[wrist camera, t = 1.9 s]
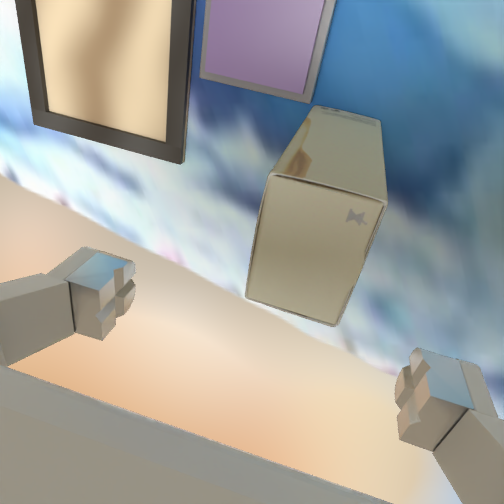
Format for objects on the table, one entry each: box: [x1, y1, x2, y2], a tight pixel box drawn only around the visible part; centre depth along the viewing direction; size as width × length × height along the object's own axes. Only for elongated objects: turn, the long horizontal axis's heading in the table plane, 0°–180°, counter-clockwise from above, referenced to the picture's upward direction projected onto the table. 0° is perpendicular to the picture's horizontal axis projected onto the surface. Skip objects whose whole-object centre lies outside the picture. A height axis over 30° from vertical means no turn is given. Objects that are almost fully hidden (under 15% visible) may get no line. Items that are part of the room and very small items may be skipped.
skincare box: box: [245, 105, 388, 327], centre depth 19 cm, size 6×4×12 cm
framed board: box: [15, 0, 196, 164], centre depth 24 cm, size 12×12×1 cm
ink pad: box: [199, 0, 337, 104], centre depth 21 cm, size 7×7×2 cm
